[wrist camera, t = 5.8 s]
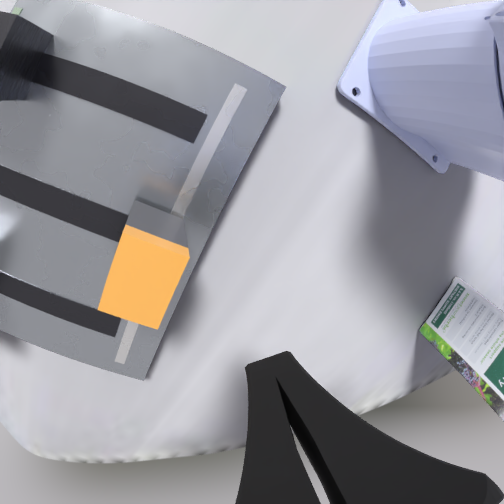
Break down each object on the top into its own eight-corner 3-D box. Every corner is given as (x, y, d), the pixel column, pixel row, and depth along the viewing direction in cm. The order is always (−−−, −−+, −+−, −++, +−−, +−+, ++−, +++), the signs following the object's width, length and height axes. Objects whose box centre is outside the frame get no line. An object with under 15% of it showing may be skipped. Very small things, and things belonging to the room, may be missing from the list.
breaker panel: (277, 88, 14) (325, 81, 10) (143, 367, 19) (143, 432, 15) (32, -5, 9) (-13, -37, 4) (-45, 293, 14) (-82, 341, 9)
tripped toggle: (184, 219, 14) (189, 257, 11) (158, 278, 15) (157, 329, 12) (135, 199, 13) (122, 232, 10) (112, 261, 14) (97, 310, 11)
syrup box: (455, 273, 23) (581, 378, 10) (479, 293, 25) (582, 382, 12) (416, 329, 24) (524, 449, 11) (445, 341, 27) (537, 440, 14)
